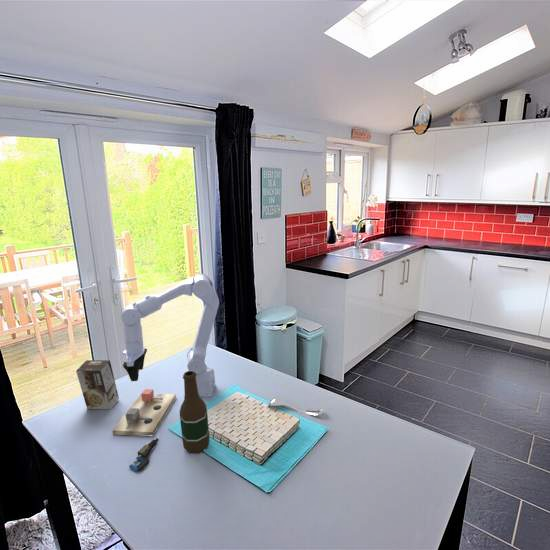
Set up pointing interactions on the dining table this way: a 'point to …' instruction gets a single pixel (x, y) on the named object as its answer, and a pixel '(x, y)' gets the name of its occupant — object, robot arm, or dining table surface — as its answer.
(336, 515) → the dining table surface
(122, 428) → the beige slider panel
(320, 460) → the dining table surface
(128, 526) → the dining table surface
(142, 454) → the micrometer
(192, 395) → the beer bottle
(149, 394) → the block
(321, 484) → the dining table surface
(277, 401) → the stirrer
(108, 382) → the coffee box
